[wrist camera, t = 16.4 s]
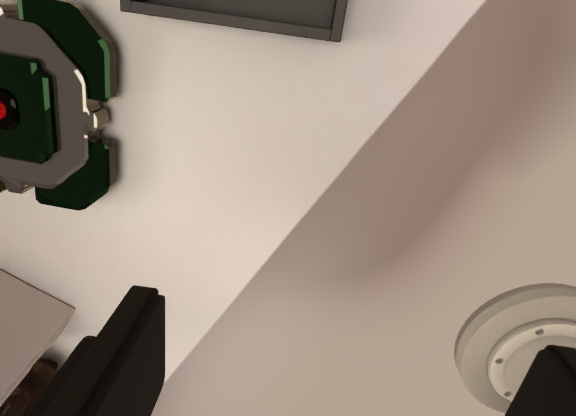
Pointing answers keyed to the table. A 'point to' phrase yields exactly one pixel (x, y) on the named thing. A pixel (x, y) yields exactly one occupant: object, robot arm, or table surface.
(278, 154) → the table surface
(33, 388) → the sculpture
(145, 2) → the tray
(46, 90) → the four-lobed dark green device
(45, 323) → the game console
